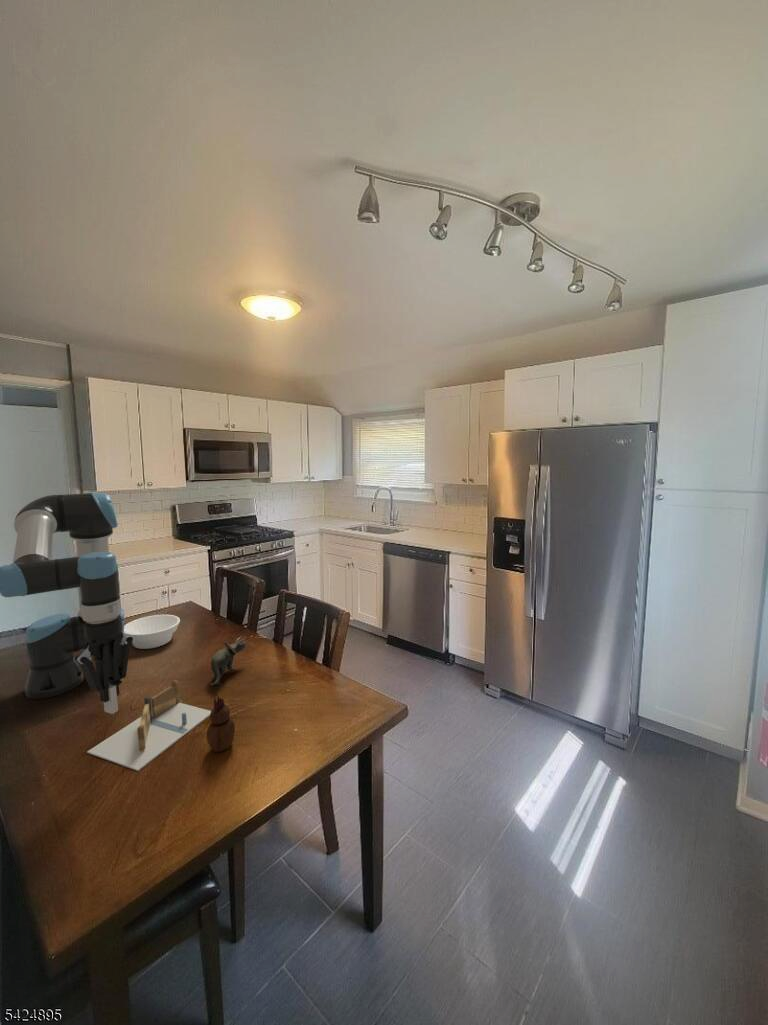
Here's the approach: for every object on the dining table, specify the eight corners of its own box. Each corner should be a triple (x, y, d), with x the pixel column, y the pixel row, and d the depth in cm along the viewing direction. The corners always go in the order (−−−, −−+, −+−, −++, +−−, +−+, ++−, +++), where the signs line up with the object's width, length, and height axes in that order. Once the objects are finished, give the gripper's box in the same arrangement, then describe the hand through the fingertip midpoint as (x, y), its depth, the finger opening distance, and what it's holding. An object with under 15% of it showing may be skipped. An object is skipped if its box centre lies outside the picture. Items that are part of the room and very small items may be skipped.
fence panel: (145, 722, 119) (144, 703, 118) (151, 721, 120) (149, 702, 119) (138, 751, 108) (136, 729, 107) (145, 749, 108) (143, 728, 107)
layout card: (87, 753, 108) (86, 740, 108) (167, 700, 131) (167, 690, 131) (138, 771, 102) (137, 758, 101) (213, 712, 125) (212, 702, 125)
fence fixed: (144, 723, 120) (142, 698, 119) (176, 702, 131) (175, 679, 130) (149, 724, 120) (147, 700, 119) (180, 703, 130) (178, 680, 129)
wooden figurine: (217, 759, 106) (214, 703, 104) (203, 750, 109) (200, 696, 107) (239, 743, 112) (237, 691, 110) (225, 736, 115) (222, 684, 113)
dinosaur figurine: (213, 696, 134) (211, 663, 132) (190, 693, 135) (188, 661, 134) (249, 663, 155) (247, 634, 153) (228, 661, 157) (226, 632, 155)
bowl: (164, 655, 162) (163, 634, 161) (110, 654, 162) (109, 634, 161) (190, 632, 183) (189, 614, 182) (142, 632, 183) (141, 614, 182)
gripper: (85, 630, 92) (95, 730, 95) (138, 610, 104) (146, 699, 107) (62, 626, 94) (73, 723, 97) (117, 607, 106) (125, 694, 109)
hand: (111, 711), depth 102 cm, fingers closed
